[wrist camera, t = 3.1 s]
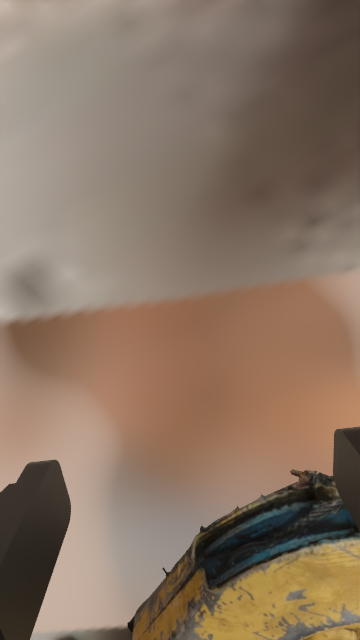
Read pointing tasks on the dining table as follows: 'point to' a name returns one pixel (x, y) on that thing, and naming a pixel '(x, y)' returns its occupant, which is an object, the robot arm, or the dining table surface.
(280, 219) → the dining table surface
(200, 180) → the dining table surface
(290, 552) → the pulley block
